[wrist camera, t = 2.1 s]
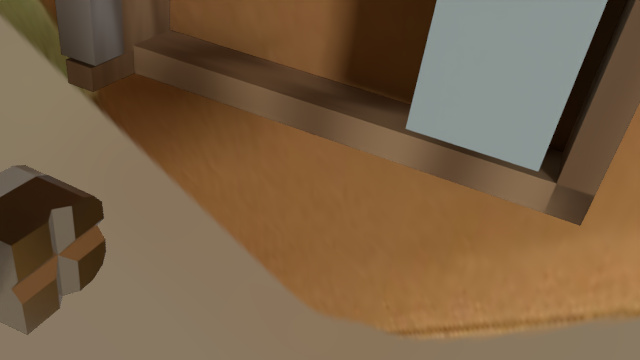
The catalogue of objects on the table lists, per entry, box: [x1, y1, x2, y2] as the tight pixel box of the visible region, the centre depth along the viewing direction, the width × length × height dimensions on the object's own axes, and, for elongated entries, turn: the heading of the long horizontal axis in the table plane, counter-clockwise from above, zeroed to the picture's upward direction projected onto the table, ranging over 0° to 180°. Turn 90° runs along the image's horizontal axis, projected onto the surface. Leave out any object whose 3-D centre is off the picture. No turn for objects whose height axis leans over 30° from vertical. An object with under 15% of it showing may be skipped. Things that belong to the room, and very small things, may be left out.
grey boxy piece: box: [406, 0, 608, 171], centre depth 22 cm, size 5×8×6 cm, turn 172°
